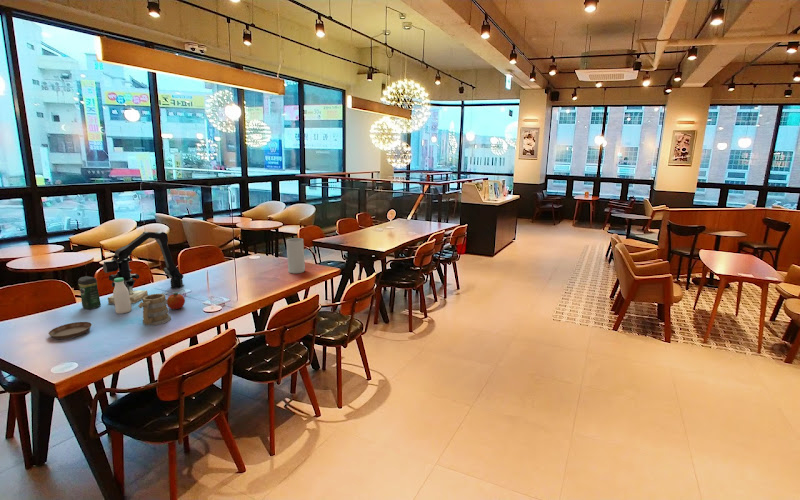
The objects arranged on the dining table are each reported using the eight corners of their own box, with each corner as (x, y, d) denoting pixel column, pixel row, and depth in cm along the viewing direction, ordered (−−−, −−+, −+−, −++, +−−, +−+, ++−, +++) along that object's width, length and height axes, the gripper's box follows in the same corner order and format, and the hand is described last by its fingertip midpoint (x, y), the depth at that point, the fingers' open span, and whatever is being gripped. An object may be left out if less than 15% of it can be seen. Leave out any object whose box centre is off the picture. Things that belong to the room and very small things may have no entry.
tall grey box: (134, 297, 270) (132, 285, 268) (131, 299, 267) (129, 287, 265) (126, 298, 270) (124, 285, 268) (123, 299, 267) (121, 287, 265)
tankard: (152, 316, 241) (149, 291, 237) (174, 316, 240) (171, 291, 237) (129, 331, 221) (125, 303, 218) (153, 331, 221) (149, 303, 217)
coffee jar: (103, 306, 257) (98, 276, 253) (89, 310, 250) (83, 279, 246) (94, 303, 262) (89, 274, 257) (80, 307, 255) (74, 277, 251)
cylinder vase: (302, 273, 323) (301, 241, 318) (286, 273, 323) (284, 241, 318) (306, 269, 335) (304, 238, 330) (290, 269, 336) (288, 238, 330)
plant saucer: (44, 343, 207) (42, 338, 207) (55, 330, 223) (54, 324, 222) (87, 337, 214) (86, 331, 213) (96, 324, 230) (95, 319, 229)
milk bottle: (134, 310, 250) (129, 277, 246) (122, 314, 243) (117, 280, 239) (125, 308, 253) (119, 275, 248) (112, 313, 246) (107, 279, 241)
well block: (147, 295, 275) (147, 290, 275) (134, 303, 262) (134, 297, 261) (123, 295, 275) (122, 290, 275) (108, 303, 262) (107, 297, 261)
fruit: (182, 304, 260) (180, 288, 257) (188, 308, 253) (186, 292, 251) (165, 308, 253) (163, 292, 251) (170, 312, 247) (168, 295, 244)
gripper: (120, 265, 273) (124, 288, 277) (100, 273, 255) (105, 298, 259) (138, 265, 273) (141, 288, 277) (119, 273, 255) (123, 298, 259)
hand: (127, 293), depth 268 cm, fingers open, 4 cm apart
